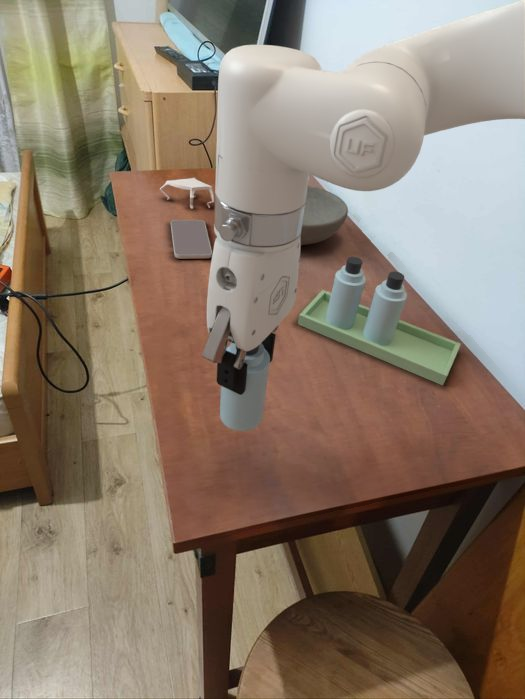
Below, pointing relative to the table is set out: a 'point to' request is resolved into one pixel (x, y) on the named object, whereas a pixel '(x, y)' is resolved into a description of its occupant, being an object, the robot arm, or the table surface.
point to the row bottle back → (346, 294)
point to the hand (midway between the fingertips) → (245, 371)
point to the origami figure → (189, 188)
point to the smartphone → (190, 239)
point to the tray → (403, 351)
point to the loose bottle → (247, 392)
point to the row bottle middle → (385, 309)
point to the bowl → (321, 215)
